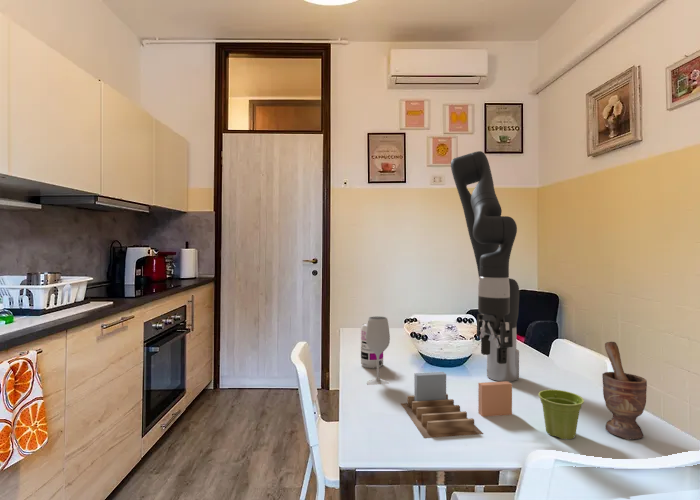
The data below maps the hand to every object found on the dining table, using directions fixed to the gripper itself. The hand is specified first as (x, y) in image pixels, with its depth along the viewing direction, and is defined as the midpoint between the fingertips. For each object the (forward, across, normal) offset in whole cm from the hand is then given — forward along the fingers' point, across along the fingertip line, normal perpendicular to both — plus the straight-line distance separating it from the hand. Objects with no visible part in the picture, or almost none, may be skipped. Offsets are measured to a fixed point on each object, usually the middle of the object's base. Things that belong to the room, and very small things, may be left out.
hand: (493, 358), depth 103 cm
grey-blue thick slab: (+14, +6, +14) cm, 21 cm away
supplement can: (+15, +50, +22) cm, 56 cm away
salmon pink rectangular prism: (+15, 0, -1) cm, 15 cm away
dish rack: (+15, 0, +14) cm, 21 cm away
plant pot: (+15, -10, -12) cm, 22 cm away
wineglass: (+15, +30, +24) cm, 41 cm away
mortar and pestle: (+15, -10, -27) cm, 32 cm away
